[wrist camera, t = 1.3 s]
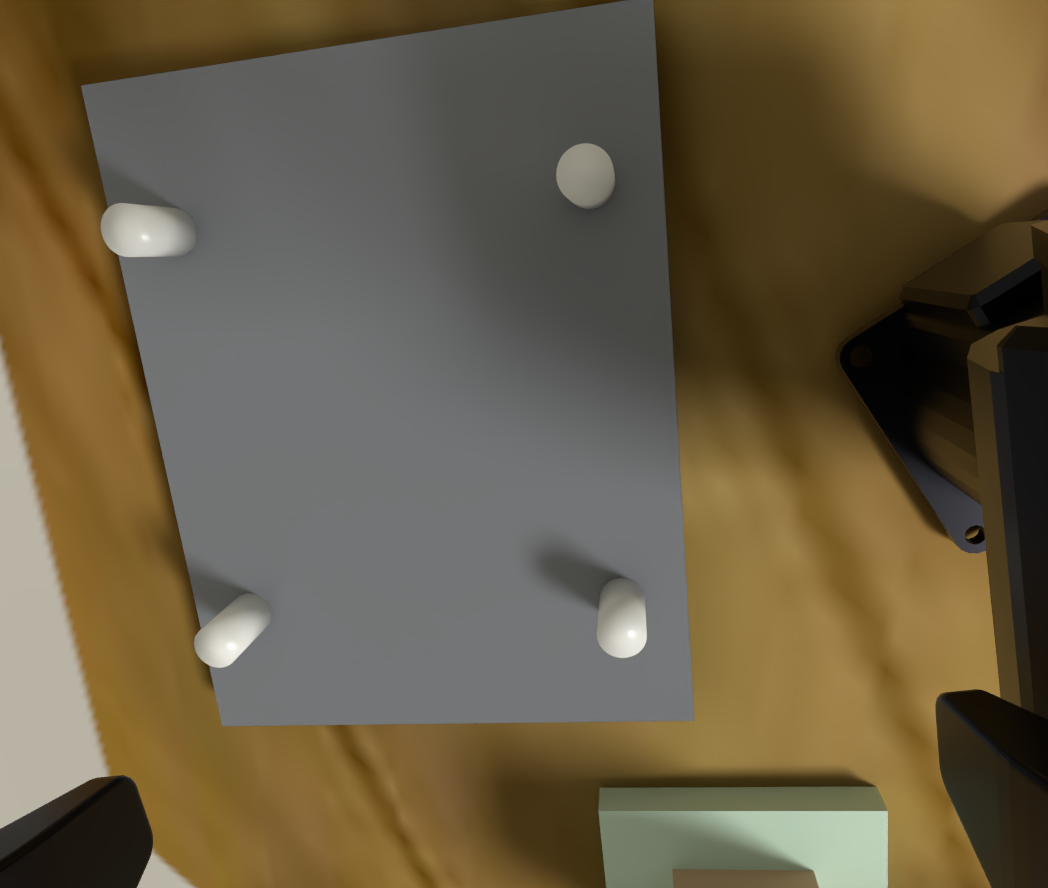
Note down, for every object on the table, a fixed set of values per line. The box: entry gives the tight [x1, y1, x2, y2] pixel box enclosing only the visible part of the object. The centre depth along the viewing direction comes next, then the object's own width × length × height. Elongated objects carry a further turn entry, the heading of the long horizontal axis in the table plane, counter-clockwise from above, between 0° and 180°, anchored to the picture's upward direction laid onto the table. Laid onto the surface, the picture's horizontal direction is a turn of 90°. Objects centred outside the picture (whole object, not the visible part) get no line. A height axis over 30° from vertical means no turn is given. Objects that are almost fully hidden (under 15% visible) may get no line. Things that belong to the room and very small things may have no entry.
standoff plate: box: [81, 0, 694, 726], centre depth 19 cm, size 18×14×3 cm
